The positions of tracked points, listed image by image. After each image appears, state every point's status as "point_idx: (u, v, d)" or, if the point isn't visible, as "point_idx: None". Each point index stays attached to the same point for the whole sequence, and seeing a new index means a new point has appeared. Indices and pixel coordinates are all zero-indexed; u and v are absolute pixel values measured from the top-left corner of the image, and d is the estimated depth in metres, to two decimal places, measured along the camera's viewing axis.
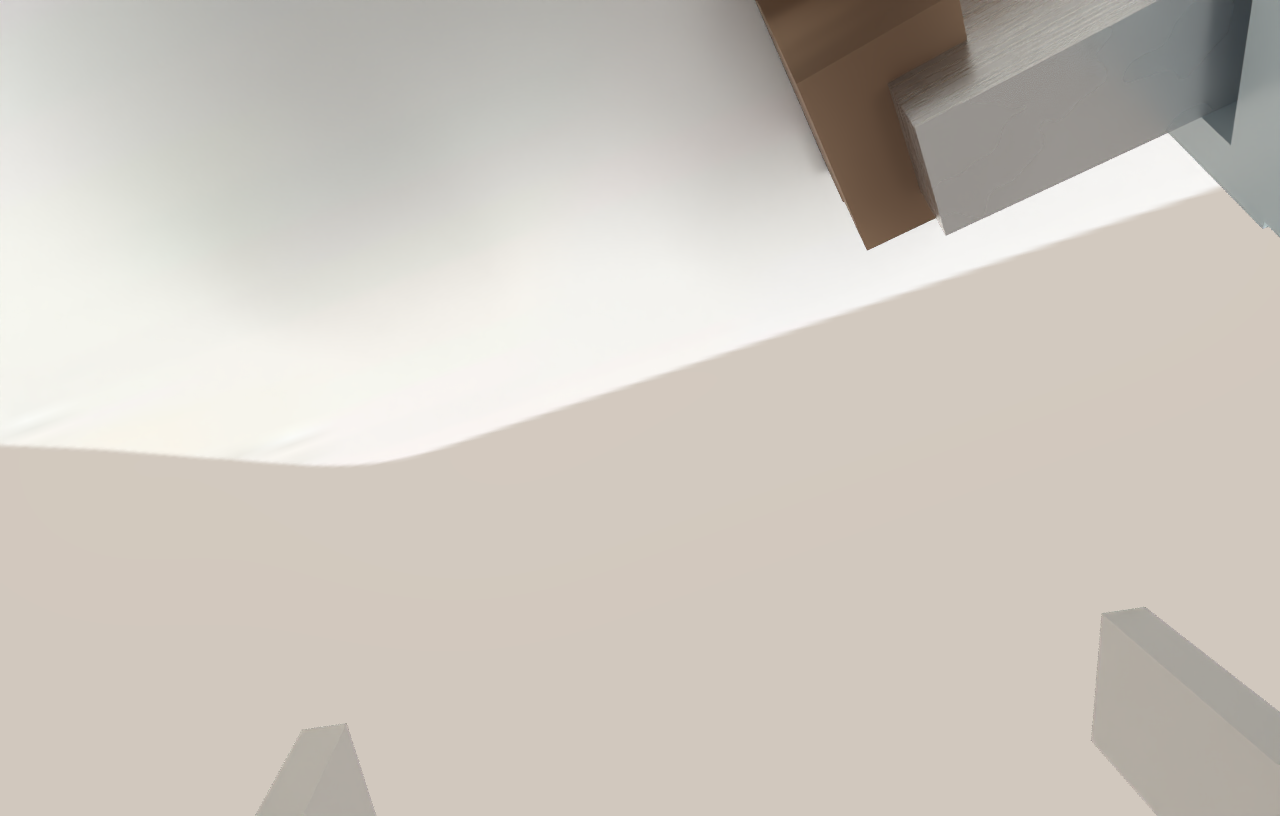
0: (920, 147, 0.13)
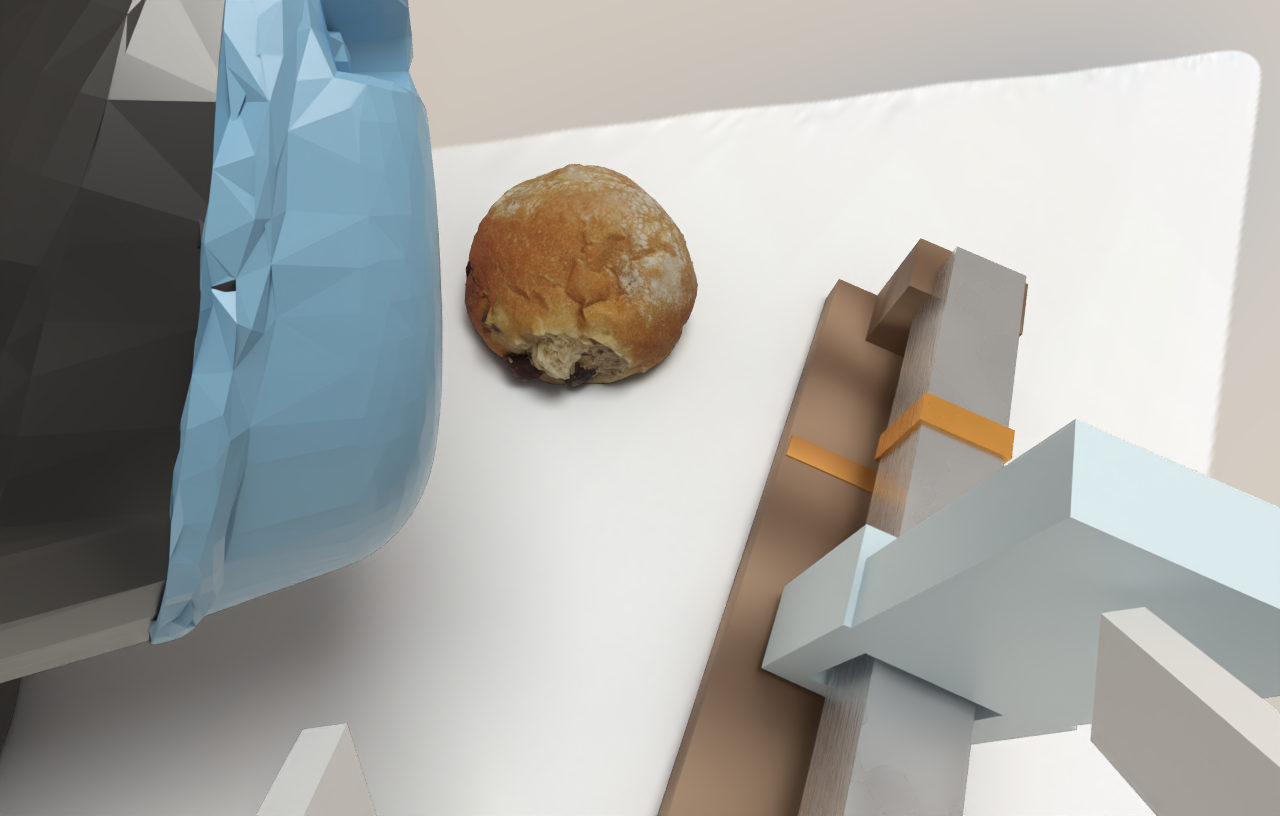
0: None
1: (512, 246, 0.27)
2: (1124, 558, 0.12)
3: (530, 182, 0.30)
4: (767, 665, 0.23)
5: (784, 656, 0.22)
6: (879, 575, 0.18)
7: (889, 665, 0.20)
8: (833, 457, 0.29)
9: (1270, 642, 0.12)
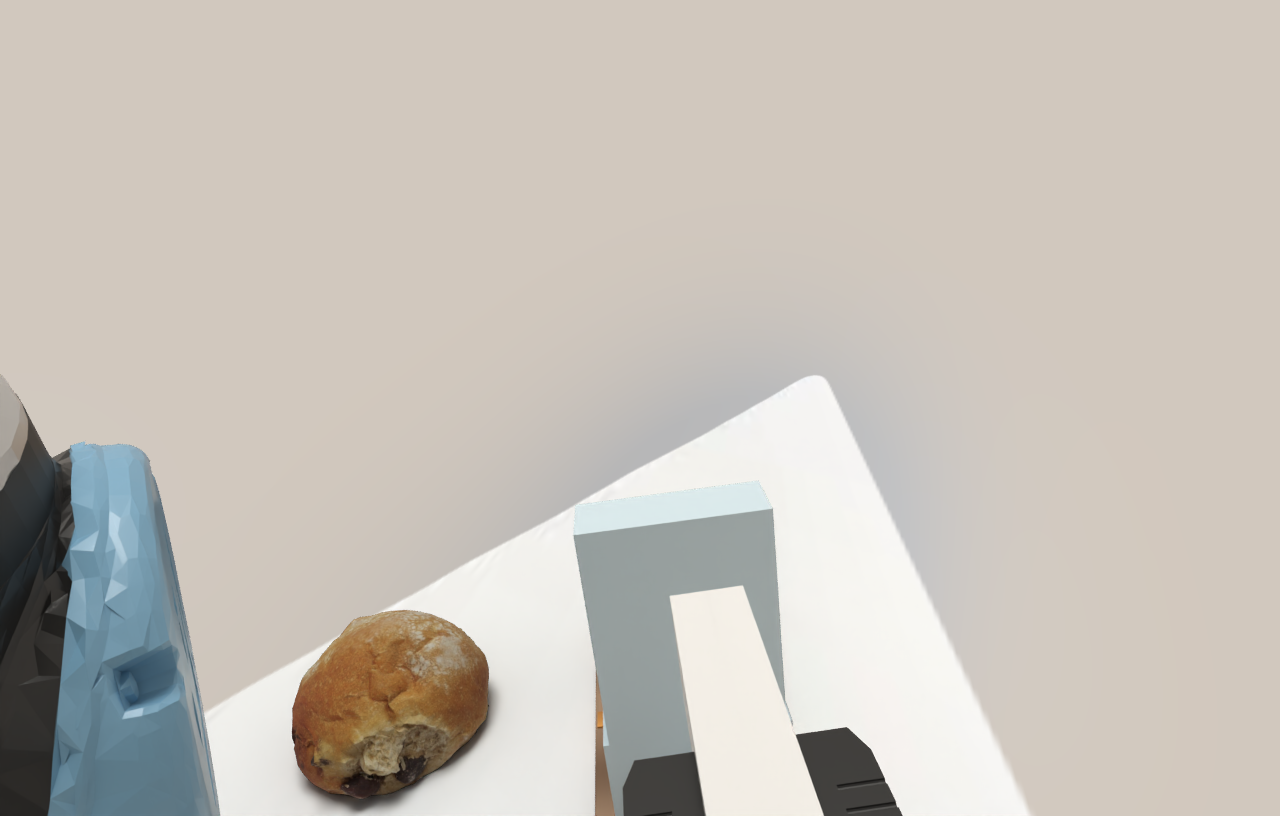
0: None
1: (319, 690, 0.34)
2: (617, 542, 0.21)
3: None
4: None
5: None
6: None
7: None
8: None
9: (720, 544, 0.21)
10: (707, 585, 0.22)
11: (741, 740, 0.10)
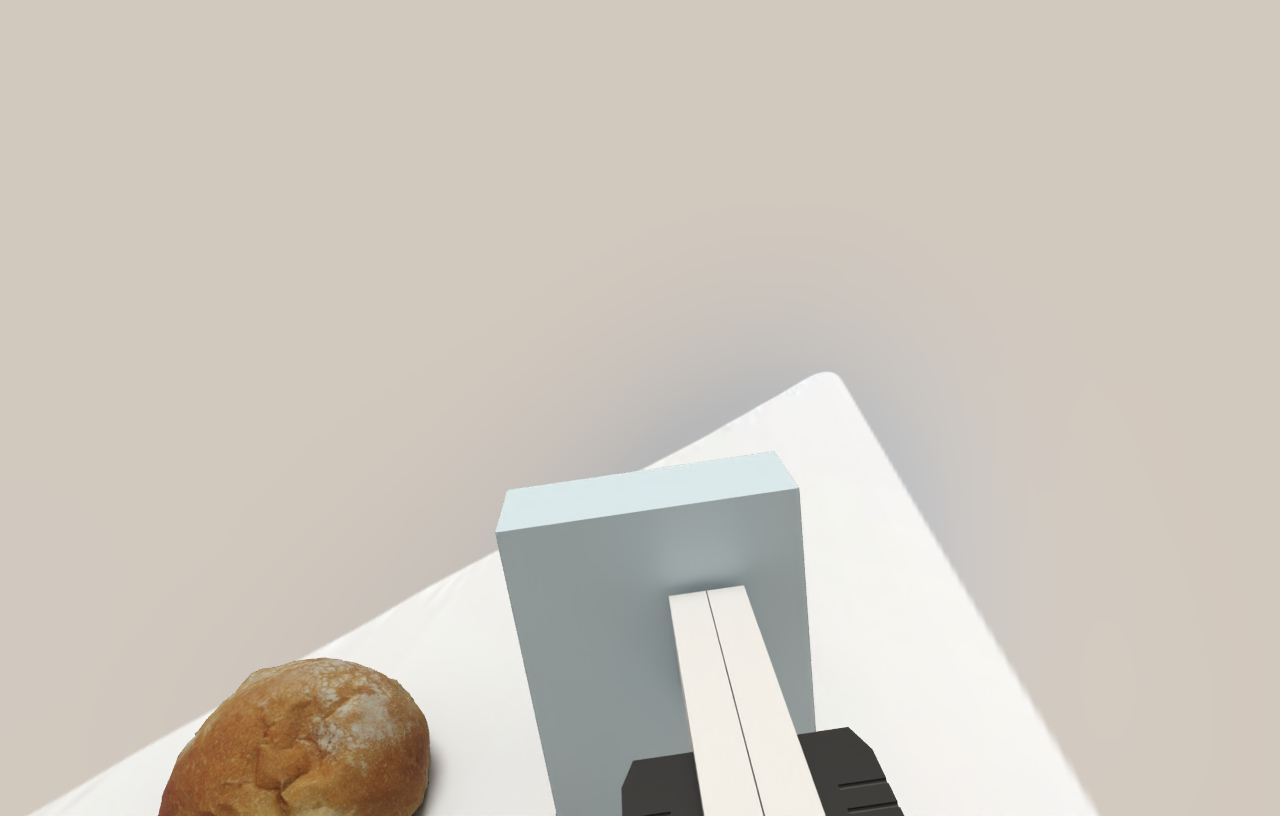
0: None
1: (190, 774, 0.25)
2: (563, 541, 0.14)
3: None
4: None
5: None
6: None
7: None
8: None
9: (720, 543, 0.14)
10: None
11: (739, 740, 0.10)
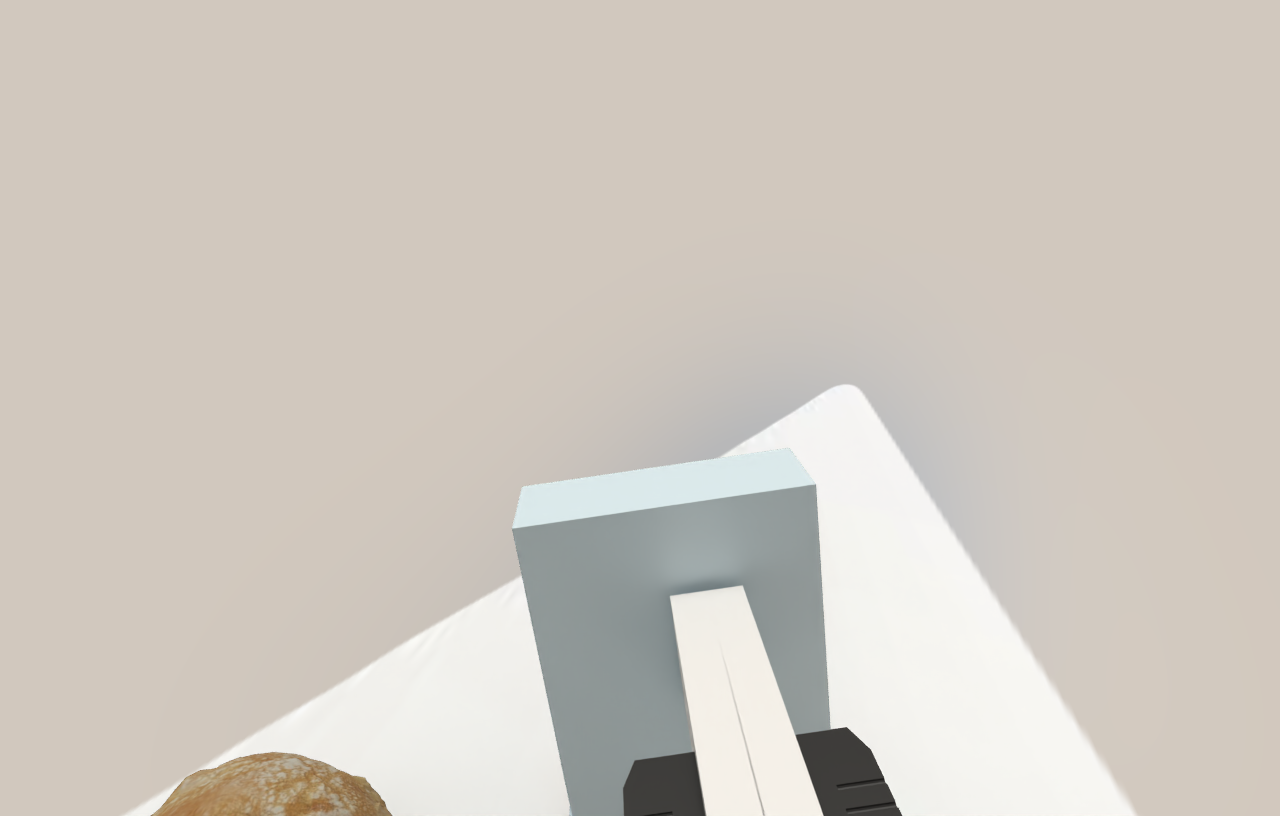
0: None
1: None
2: (580, 538, 0.14)
3: None
4: None
5: None
6: None
7: None
8: None
9: (736, 540, 0.14)
10: None
11: (741, 740, 0.10)
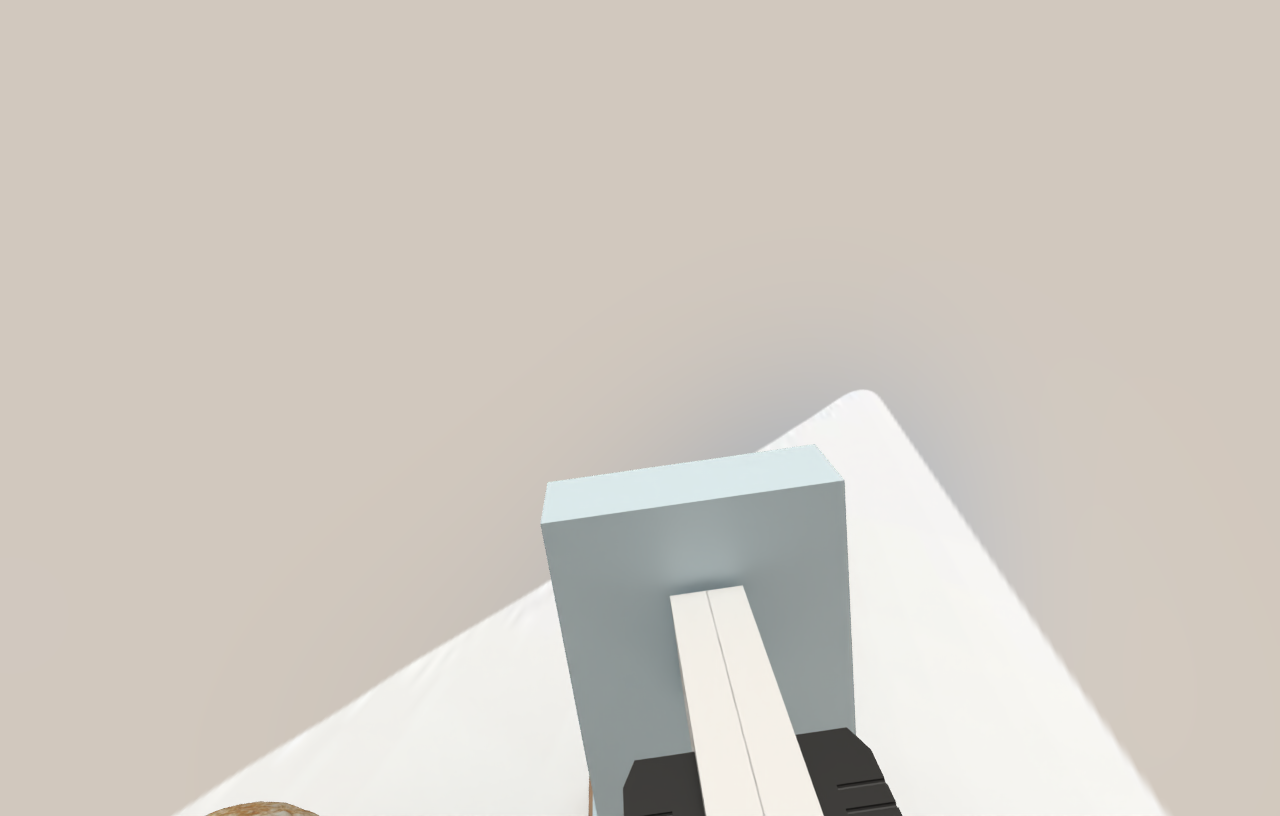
0: None
1: None
2: (608, 533, 0.14)
3: None
4: None
5: None
6: None
7: None
8: None
9: (763, 535, 0.14)
10: None
11: (741, 740, 0.10)
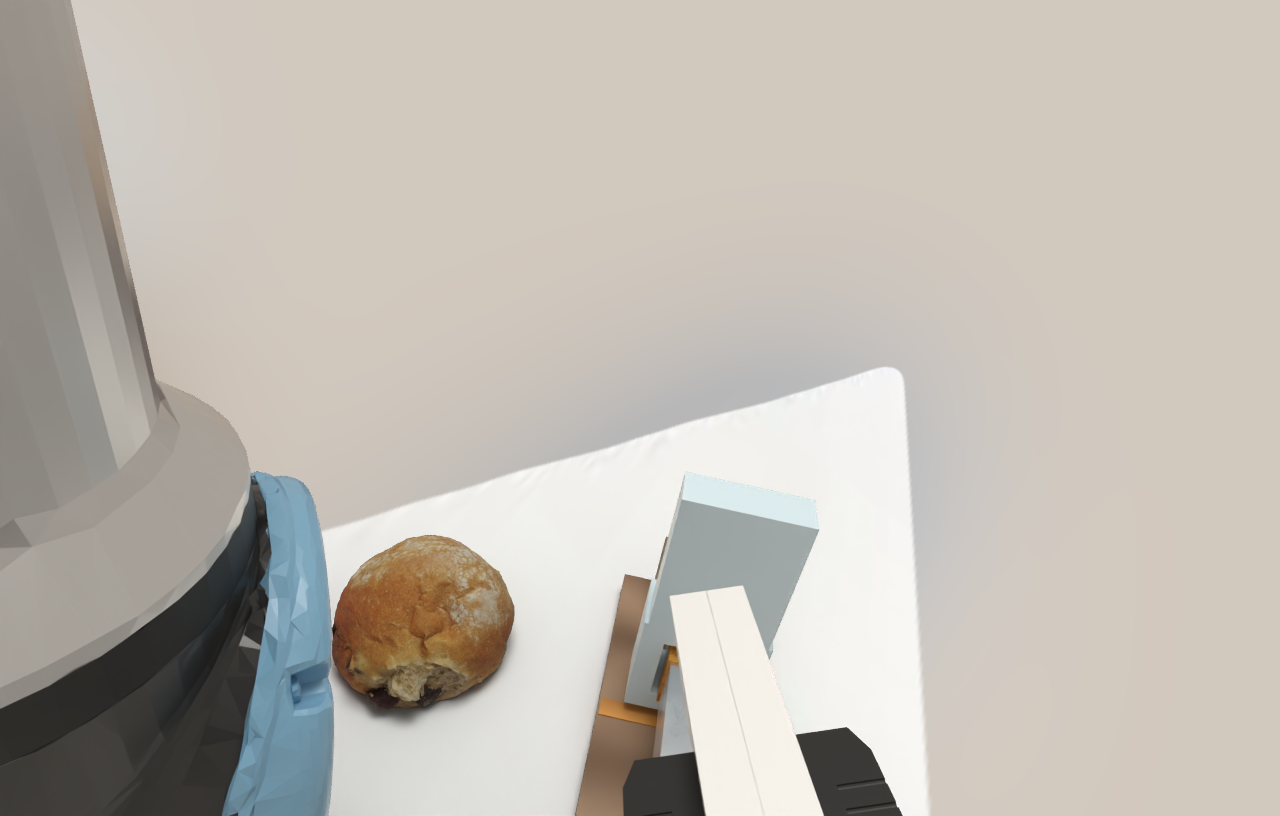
0: None
1: (367, 606, 0.37)
2: (708, 513, 0.31)
3: (379, 555, 0.41)
4: (626, 696, 0.38)
5: (630, 677, 0.37)
6: (655, 590, 0.35)
7: None
8: (634, 708, 0.39)
9: (774, 537, 0.31)
10: (755, 557, 0.31)
11: (741, 740, 0.10)
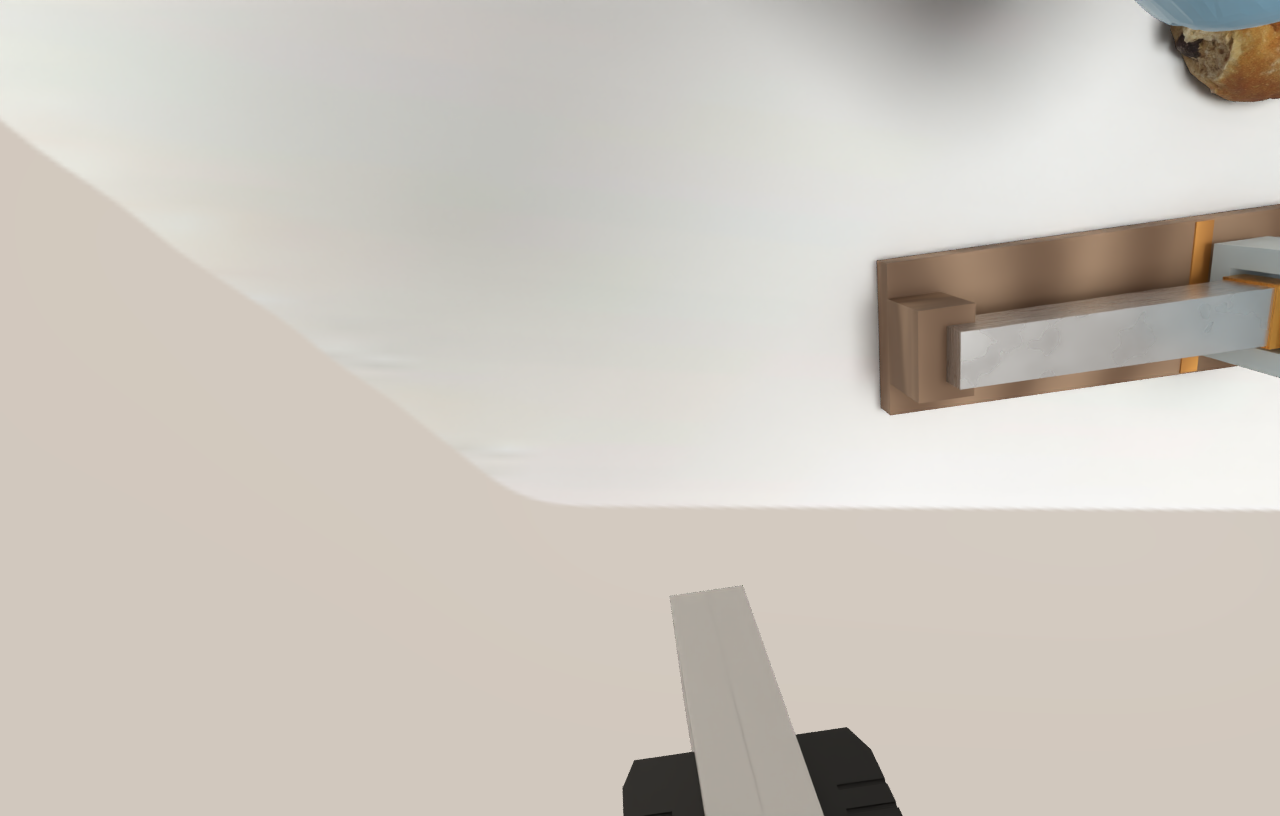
0: (960, 342, 0.35)
1: None
2: None
3: None
4: (1221, 245, 0.39)
5: (1246, 247, 0.37)
6: None
7: (1110, 319, 0.35)
8: (1206, 254, 0.40)
9: None
10: None
11: (741, 740, 0.10)
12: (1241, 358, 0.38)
